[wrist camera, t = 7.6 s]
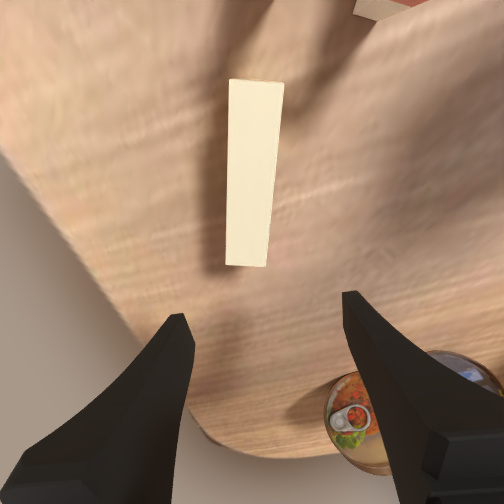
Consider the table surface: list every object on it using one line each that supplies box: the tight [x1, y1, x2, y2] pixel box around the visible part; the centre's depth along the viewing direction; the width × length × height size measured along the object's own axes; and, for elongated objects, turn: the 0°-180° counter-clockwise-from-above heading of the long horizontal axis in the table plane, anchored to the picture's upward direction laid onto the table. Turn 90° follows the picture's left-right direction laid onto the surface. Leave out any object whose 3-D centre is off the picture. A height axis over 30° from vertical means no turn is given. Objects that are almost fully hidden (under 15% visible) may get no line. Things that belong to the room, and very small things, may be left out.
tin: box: [324, 351, 504, 476], centre depth 27 cm, size 15×3×8 cm, turn 115°
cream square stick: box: [226, 78, 284, 267], centre depth 18 cm, size 3×10×4 cm, turn 176°
